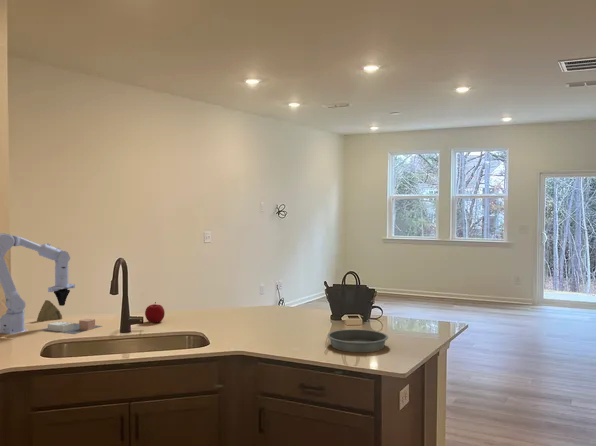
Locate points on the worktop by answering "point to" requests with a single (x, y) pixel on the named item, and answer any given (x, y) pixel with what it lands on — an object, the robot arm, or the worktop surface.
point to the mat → (72, 331)
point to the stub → (87, 324)
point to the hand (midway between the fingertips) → (61, 305)
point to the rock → (49, 312)
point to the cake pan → (357, 340)
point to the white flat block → (60, 326)
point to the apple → (154, 313)
